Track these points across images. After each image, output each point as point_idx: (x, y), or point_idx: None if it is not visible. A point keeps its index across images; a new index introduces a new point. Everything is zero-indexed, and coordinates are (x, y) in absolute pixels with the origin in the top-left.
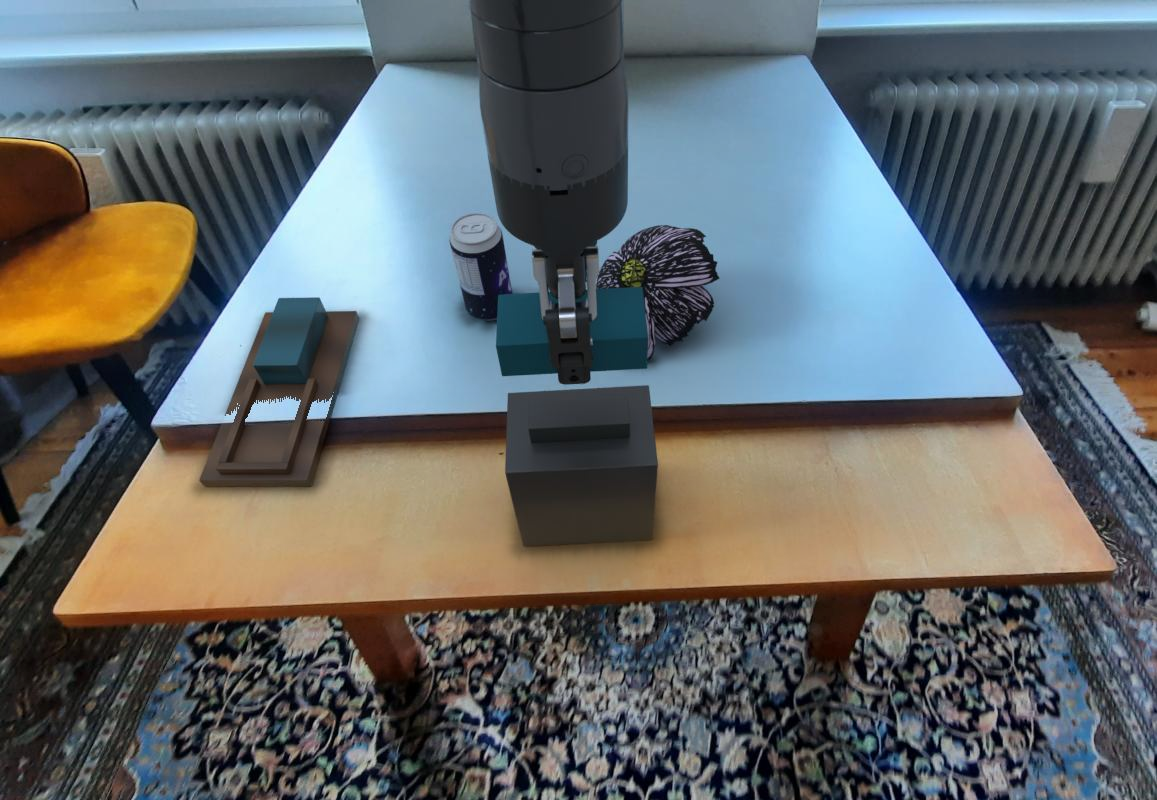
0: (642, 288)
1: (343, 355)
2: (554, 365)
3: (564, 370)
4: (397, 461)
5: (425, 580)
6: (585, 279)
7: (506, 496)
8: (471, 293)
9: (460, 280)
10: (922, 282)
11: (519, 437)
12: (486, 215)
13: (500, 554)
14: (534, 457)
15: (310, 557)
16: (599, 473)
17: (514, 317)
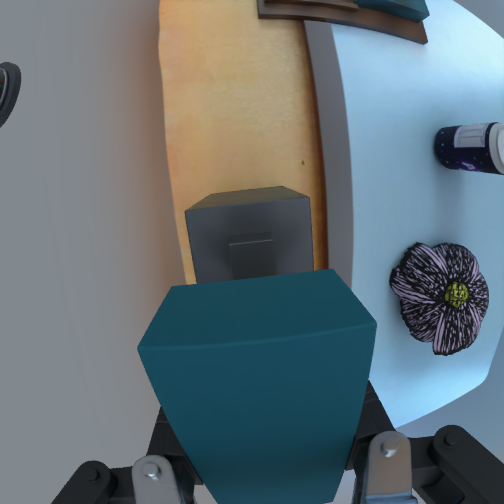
0: (443, 300)
1: (386, 29)
2: (78, 473)
3: (155, 429)
4: (289, 74)
5: (176, 120)
6: (354, 486)
7: (258, 172)
8: (455, 135)
9: (465, 126)
10: (404, 419)
11: (238, 220)
12: None
13: (202, 176)
14: (209, 243)
15: (194, 34)
16: None
17: (266, 385)
